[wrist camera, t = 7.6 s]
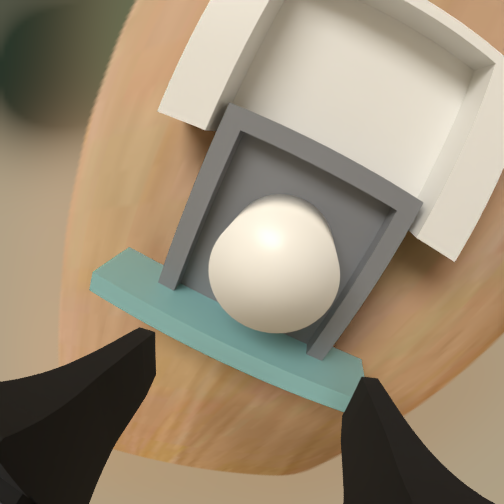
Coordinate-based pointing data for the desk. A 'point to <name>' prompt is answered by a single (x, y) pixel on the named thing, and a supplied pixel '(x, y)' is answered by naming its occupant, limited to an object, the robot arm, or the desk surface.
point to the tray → (224, 213)
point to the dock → (361, 94)
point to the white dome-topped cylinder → (276, 265)
